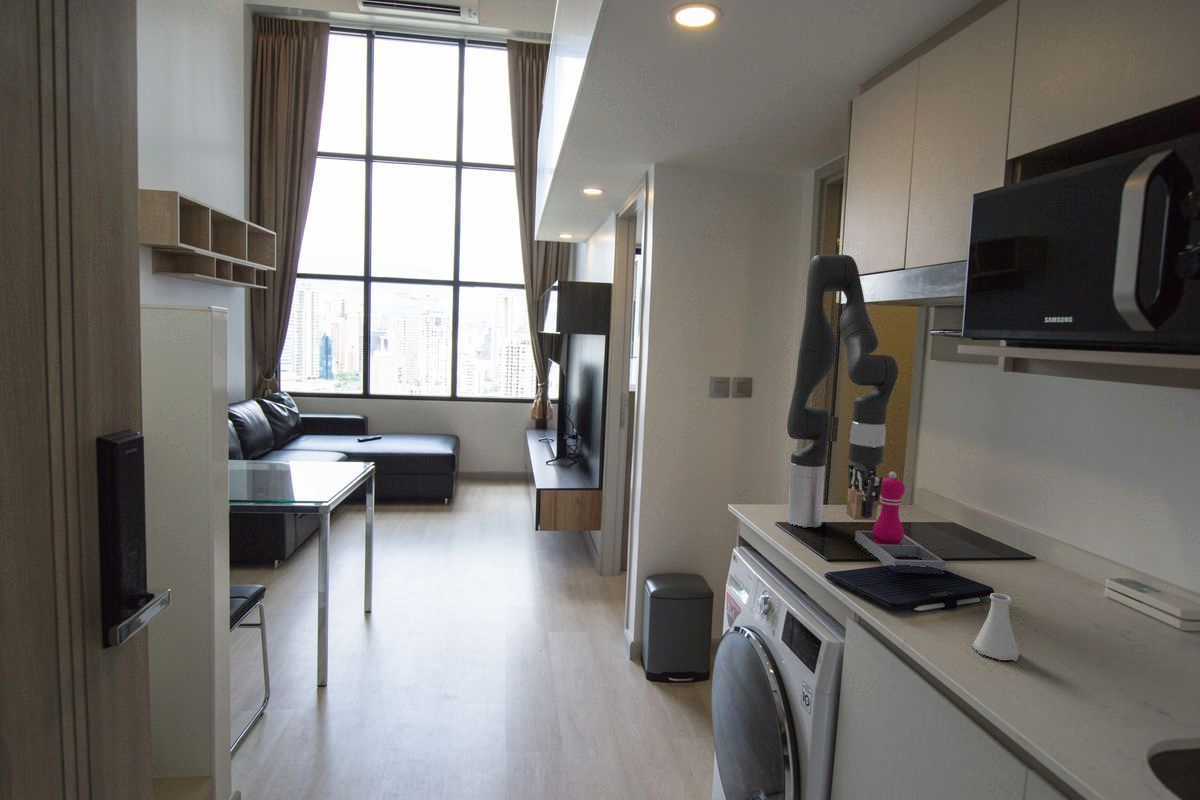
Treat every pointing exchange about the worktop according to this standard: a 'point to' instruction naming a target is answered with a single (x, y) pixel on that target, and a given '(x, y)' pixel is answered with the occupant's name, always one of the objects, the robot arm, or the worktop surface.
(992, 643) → the flask
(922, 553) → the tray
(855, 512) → the wooden block
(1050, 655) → the worktop surface
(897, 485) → the pepper mill
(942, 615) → the worktop surface
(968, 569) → the worktop surface
